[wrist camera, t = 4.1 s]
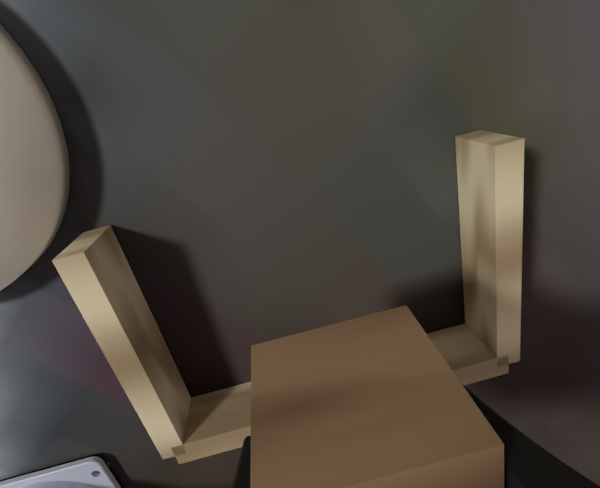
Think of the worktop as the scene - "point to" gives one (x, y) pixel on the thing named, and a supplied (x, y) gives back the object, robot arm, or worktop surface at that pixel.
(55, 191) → the ceramic plate
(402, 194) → the worktop surface
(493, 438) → the walnut block
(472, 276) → the wooden u-shaped frame
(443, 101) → the worktop surface
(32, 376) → the worktop surface
